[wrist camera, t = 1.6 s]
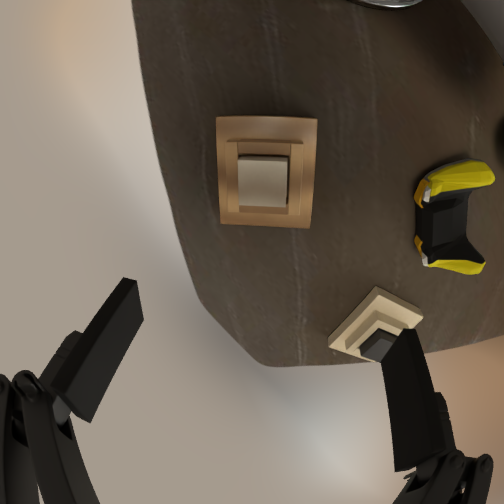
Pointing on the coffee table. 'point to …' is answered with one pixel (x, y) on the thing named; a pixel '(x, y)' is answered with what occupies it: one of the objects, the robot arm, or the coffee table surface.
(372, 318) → the key block
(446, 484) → the robot arm
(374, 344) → the black key
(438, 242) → the gaming controller
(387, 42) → the coffee table surface
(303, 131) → the key block
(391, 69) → the coffee table surface
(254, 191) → the ivory key
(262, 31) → the coffee table surface
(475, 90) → the coffee table surface
